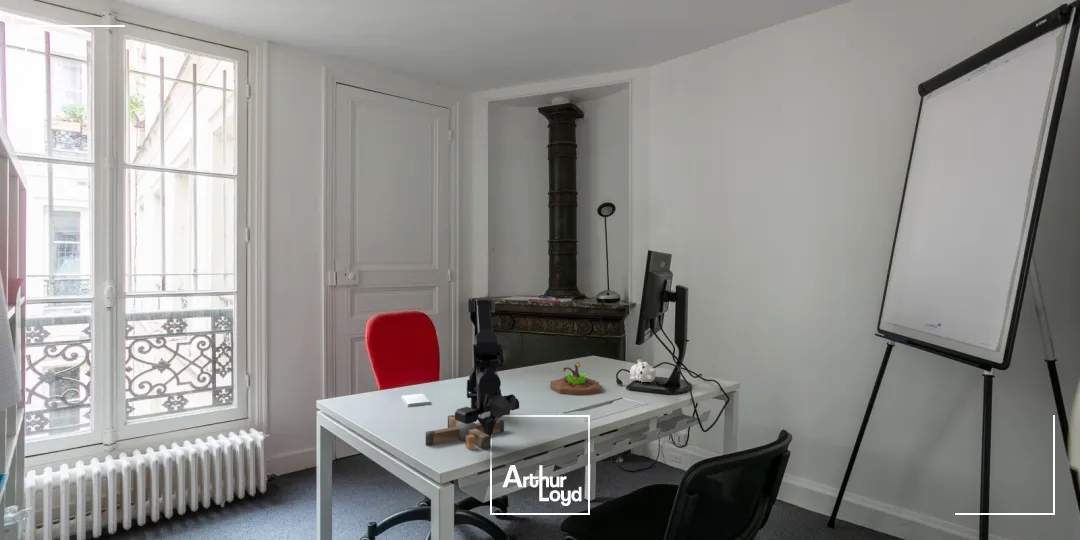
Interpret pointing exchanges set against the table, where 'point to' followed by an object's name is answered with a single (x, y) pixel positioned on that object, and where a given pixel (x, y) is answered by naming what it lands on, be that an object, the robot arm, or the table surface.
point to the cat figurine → (642, 372)
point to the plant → (575, 383)
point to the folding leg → (481, 438)
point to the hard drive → (415, 400)
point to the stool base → (459, 432)
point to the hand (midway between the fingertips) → (489, 438)
